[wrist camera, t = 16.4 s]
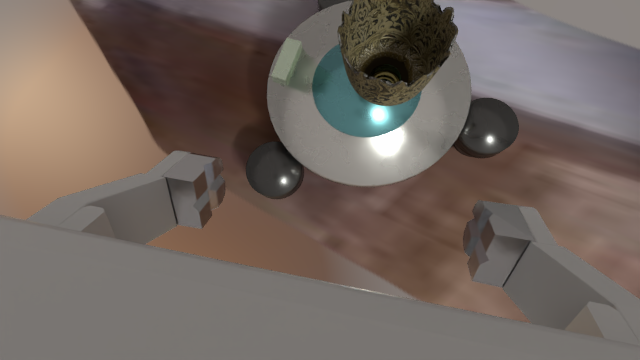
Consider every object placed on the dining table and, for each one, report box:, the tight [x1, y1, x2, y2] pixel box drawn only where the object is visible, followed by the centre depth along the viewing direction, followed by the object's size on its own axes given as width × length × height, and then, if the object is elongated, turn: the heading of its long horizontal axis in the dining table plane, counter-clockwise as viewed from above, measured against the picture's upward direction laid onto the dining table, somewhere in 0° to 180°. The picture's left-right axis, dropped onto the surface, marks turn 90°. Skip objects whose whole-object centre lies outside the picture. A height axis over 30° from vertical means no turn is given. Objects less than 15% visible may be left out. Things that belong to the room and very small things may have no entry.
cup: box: [337, 0, 458, 106], centre depth 24 cm, size 8×7×8 cm
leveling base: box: [246, 0, 519, 199], centre depth 31 cm, size 24×22×6 cm
